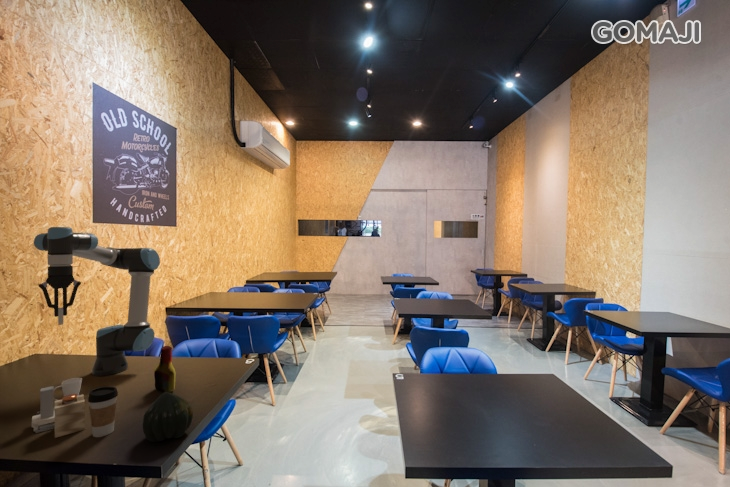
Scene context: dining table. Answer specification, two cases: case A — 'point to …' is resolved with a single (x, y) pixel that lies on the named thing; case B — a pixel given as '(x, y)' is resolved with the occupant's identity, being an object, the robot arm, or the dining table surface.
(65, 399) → the button
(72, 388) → the cup
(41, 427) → the rail
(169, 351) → the bottle
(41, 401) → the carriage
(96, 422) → the coffee cup
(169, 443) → the dining table surface
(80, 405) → the beige box
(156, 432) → the squash
